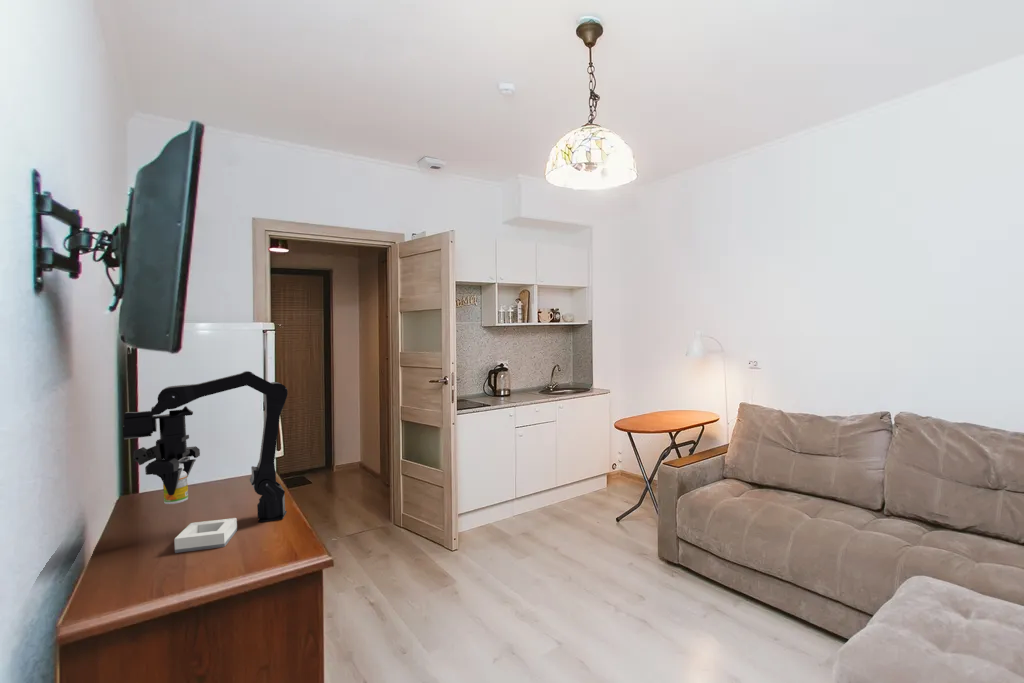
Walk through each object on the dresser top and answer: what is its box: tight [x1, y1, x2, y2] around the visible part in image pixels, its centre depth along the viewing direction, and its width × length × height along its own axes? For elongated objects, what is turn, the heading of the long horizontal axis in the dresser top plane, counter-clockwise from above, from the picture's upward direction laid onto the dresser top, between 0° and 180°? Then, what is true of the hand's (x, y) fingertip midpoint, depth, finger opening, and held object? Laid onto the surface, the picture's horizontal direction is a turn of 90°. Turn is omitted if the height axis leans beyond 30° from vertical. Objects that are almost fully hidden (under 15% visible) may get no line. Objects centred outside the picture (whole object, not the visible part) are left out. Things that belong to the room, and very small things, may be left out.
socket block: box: [174, 517, 238, 554], centre depth 127 cm, size 11×11×4 cm
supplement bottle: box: [162, 463, 189, 505], centre depth 131 cm, size 5×5×10 cm
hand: (176, 491), depth 131 cm, fingers closed on supplement bottle, 5 cm apart
